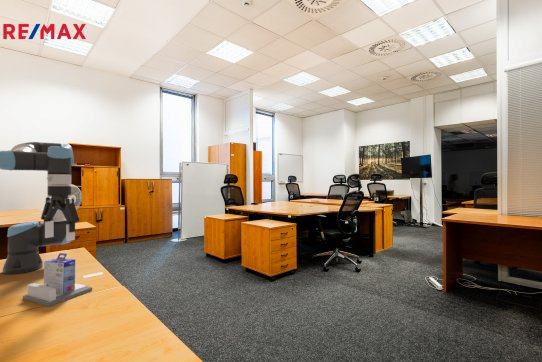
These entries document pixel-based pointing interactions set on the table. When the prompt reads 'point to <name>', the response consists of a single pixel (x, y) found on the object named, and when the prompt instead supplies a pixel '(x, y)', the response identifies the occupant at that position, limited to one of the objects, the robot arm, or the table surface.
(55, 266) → the ink cartridge box
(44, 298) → the dock board
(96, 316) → the table surface
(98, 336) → the table surface
